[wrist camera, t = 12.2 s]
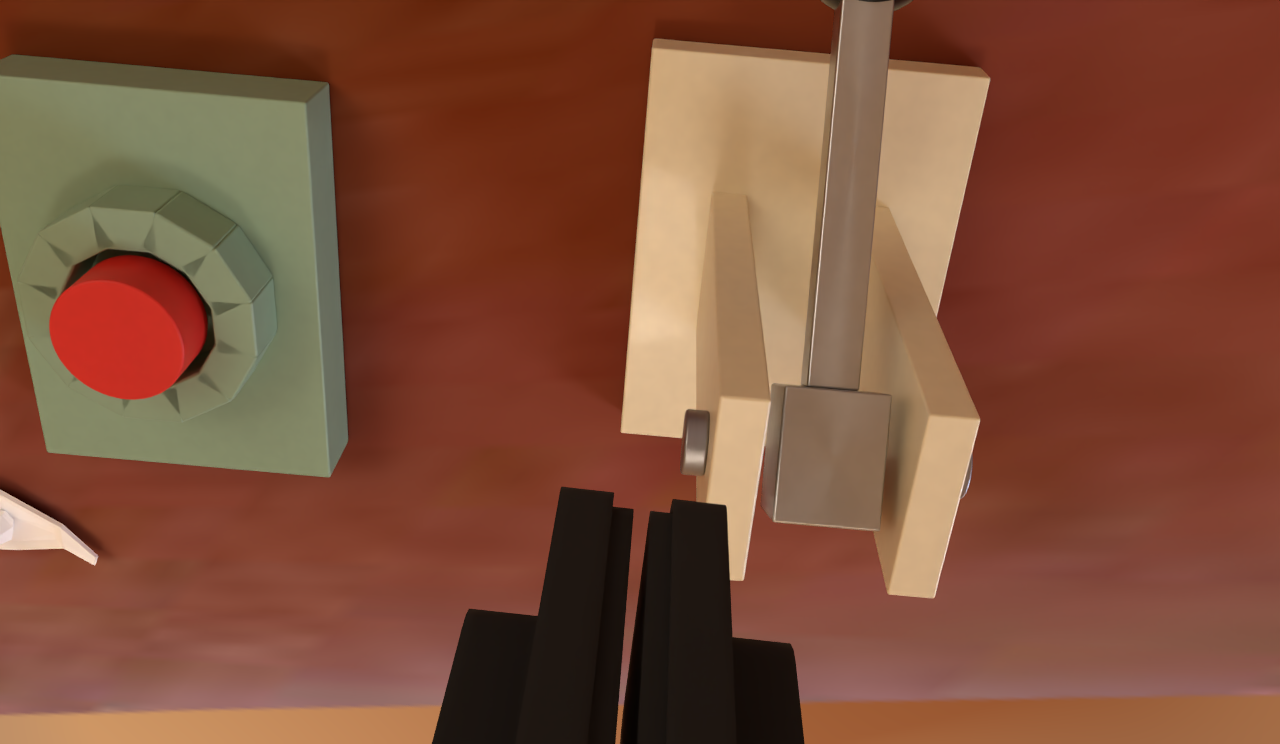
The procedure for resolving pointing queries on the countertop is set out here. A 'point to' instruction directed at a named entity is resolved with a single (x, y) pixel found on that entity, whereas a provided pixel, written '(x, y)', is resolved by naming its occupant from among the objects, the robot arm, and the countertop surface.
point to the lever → (838, 303)
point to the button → (128, 327)
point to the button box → (182, 252)
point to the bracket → (797, 279)
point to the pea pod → (36, 530)
